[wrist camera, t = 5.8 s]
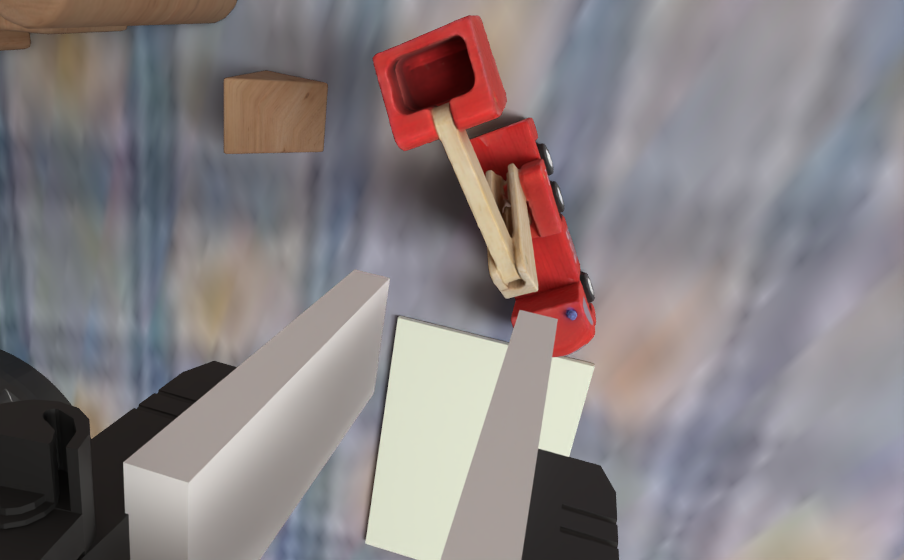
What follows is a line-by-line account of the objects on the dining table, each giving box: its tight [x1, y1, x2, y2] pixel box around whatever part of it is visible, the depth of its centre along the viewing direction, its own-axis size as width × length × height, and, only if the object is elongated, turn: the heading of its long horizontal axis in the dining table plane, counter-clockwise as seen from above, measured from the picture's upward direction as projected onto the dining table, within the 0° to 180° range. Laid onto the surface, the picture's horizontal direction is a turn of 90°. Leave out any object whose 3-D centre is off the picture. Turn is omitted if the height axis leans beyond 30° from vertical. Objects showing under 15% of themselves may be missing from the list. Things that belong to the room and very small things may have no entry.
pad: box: [366, 316, 594, 560], centre depth 33 cm, size 10×15×1 cm, turn 170°
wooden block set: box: [0, 0, 328, 154], centre depth 24 cm, size 18×9×10 cm, turn 80°
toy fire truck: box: [373, 15, 596, 357], centre depth 23 cm, size 3×14×10 cm, turn 21°
